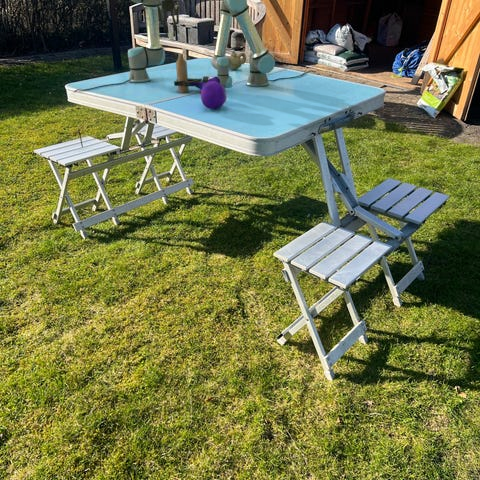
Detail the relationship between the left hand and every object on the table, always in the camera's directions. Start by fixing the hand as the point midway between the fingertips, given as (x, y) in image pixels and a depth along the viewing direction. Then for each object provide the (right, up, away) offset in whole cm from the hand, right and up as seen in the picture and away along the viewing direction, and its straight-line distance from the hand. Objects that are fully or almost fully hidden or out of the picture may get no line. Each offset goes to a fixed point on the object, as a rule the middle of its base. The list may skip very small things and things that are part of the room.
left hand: (171, 36), depth 282 cm
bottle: (+5, -27, +24) cm, 36 cm away
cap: (0, +1, -1) cm, 2 cm away
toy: (+25, -49, -14) cm, 57 cm away
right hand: (0, -21, +21) cm, 30 cm away
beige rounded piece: (+39, +13, +91) cm, 99 cm away
